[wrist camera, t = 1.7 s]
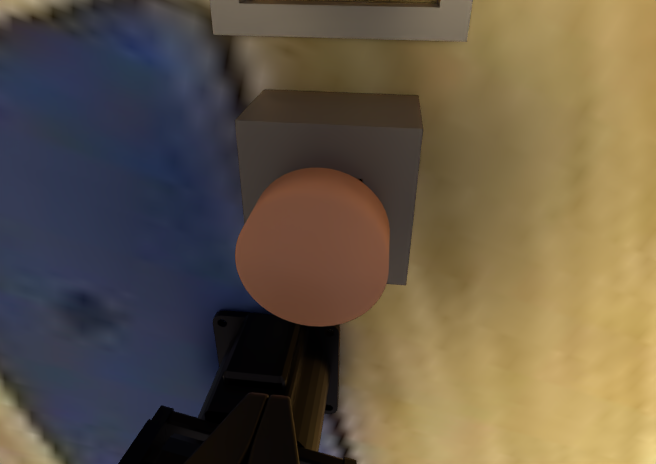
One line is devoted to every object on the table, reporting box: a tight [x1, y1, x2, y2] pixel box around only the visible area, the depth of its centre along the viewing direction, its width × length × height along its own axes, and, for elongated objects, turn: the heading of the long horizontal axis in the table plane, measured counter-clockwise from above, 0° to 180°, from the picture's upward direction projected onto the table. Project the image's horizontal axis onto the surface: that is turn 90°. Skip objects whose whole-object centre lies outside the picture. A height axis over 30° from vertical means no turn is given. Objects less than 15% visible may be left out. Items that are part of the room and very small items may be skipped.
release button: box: [235, 168, 390, 327], centre depth 16 cm, size 4×4×5 cm
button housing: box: [235, 90, 423, 285], centre depth 19 cm, size 6×6×4 cm
